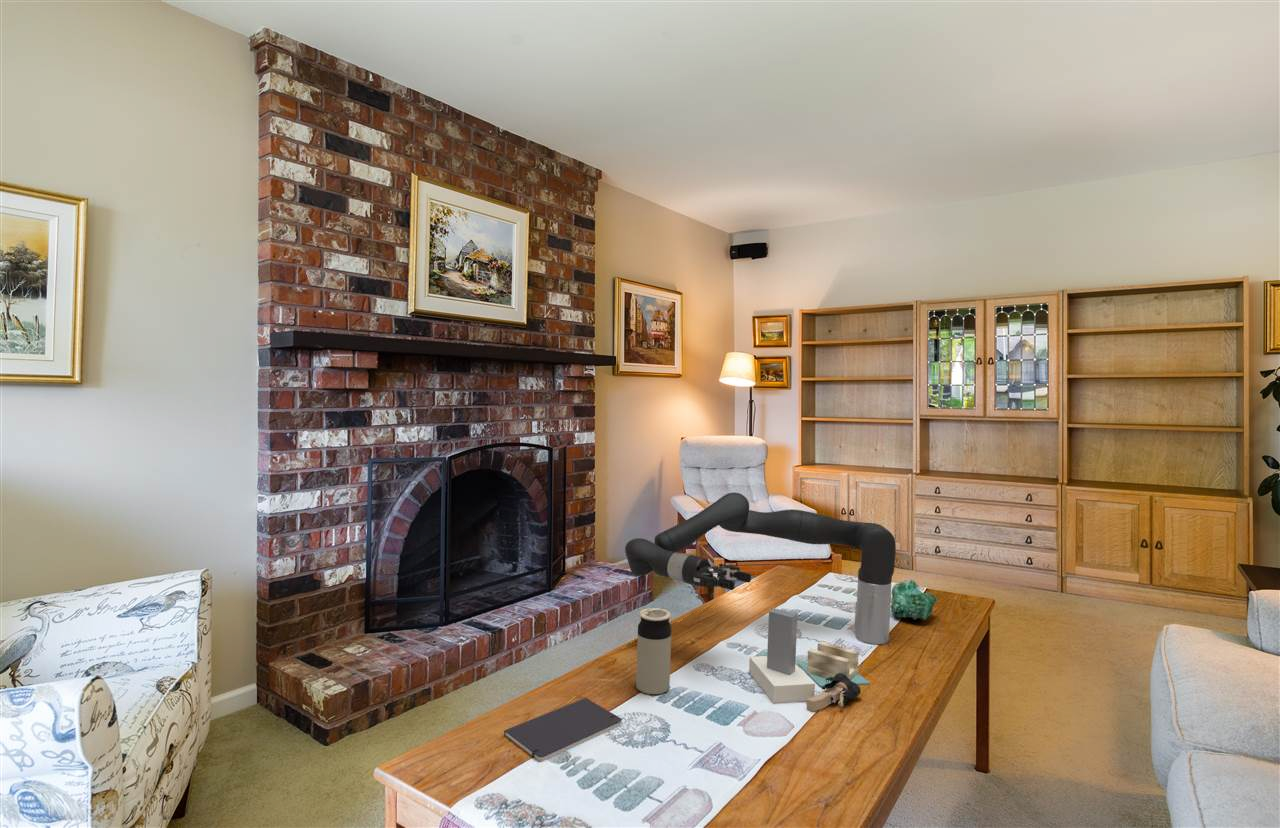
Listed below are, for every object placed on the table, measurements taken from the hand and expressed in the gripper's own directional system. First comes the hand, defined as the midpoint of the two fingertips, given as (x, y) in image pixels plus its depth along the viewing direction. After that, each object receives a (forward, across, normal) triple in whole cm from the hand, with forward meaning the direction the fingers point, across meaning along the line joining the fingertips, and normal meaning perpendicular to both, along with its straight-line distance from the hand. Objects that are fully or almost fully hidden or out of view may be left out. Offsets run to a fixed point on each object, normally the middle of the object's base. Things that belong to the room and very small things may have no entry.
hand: (742, 582), depth 162 cm
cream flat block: (+11, 0, +23) cm, 26 cm away
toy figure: (+25, 0, +23) cm, 34 cm away
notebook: (-14, -48, +24) cm, 56 cm away
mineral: (+22, +74, +23) cm, 80 cm away
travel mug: (-12, -21, +24) cm, 34 cm away
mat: (+19, +15, +23) cm, 33 cm away
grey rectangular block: (+11, 0, +19) cm, 22 cm away
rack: (+19, +15, +22) cm, 33 cm away
